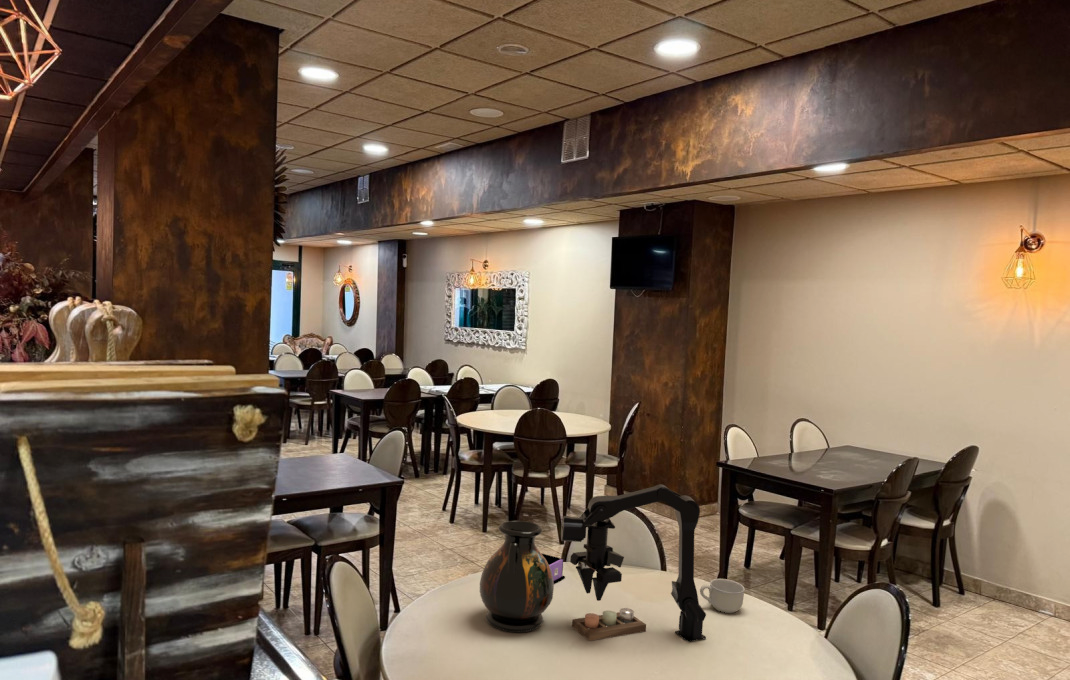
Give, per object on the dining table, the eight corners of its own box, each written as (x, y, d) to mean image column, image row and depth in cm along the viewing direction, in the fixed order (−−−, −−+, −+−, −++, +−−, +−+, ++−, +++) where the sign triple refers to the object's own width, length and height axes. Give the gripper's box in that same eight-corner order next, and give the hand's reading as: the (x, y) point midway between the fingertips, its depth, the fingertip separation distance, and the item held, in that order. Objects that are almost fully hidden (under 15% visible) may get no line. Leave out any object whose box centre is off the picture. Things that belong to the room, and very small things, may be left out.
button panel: (645, 631, 204) (646, 624, 204) (589, 640, 196) (590, 633, 196) (626, 617, 213) (626, 611, 213) (571, 626, 204) (572, 619, 204)
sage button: (618, 625, 203) (619, 615, 203) (607, 627, 202) (607, 616, 202) (611, 620, 207) (611, 609, 207) (599, 621, 205) (600, 611, 205)
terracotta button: (601, 628, 201) (601, 617, 201) (589, 630, 199) (589, 619, 199) (593, 622, 204) (594, 612, 204) (581, 624, 202) (582, 614, 202)
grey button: (635, 622, 206) (636, 612, 206) (624, 624, 204) (625, 614, 204) (627, 617, 210) (628, 607, 210) (616, 619, 208) (617, 609, 208)
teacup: (739, 604, 230) (741, 580, 230) (746, 618, 219) (748, 592, 219) (696, 600, 231) (697, 576, 231) (700, 613, 220) (702, 588, 220)
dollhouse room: (566, 578, 245) (567, 558, 245) (549, 588, 234) (550, 567, 234) (536, 570, 251) (538, 551, 251) (518, 579, 241) (519, 559, 241)
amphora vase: (544, 643, 192) (550, 541, 192) (468, 631, 196) (474, 531, 196) (557, 613, 213) (563, 520, 213) (488, 603, 218) (494, 512, 217)
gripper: (639, 549, 197) (635, 605, 197) (603, 531, 213) (599, 582, 213) (605, 553, 192) (601, 610, 192) (571, 533, 208) (567, 586, 208)
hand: (593, 596), depth 201 cm, fingers open, 5 cm apart
